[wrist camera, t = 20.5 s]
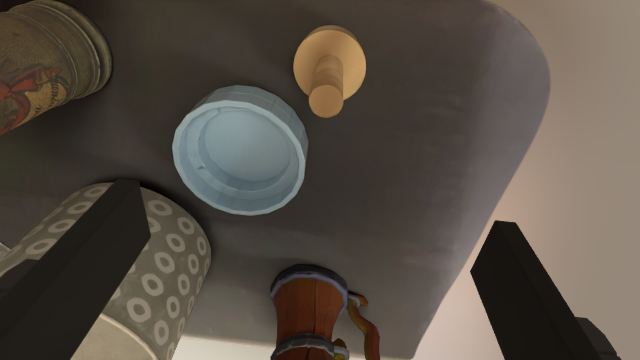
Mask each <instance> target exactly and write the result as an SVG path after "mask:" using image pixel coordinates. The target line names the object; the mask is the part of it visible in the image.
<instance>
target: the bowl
mask: <svg viewBox="0 0 640 360" xmlns="http://www.w3.org/2000/svg"><path fill="white" fill-rule="evenodd" d="M172 150H173V157H174V163H175V167H176V169H177V171H178V173H179V175H180V176H181V178H182V180H183V182H184V183H185V184H186V185H187V187H188V188H189V189H190V190H191V191H192V192H193V193H194V194H195V195H196V196H197V197H198V198H200V199H201V200H203V201H205V202H206V203H208V204H209V205H211V206H212V207H214V208H217V209H220V210H223V211H225V212H228V213H232V214H240V215H249V216H252V215H259V214H266V213H270V212H272V211H274V210H276V209H279V208H281V207H283V206H284V205H286V204H287V203H288V202H289V201H290V200H291V199H292V198H293V197H294V196H295V195H296V194H297V192H298V190H299V188H300V186H301V184H302V182H303V180H304V175H305V169H306V163H307V155H308V139H307V135H306V131H305V128H304V125H303V123H302V122H301V120H300V119H299V117H298V116H297V114H296V113H295V111H294V110H293V109H292V108H291V107H290V106H289V105H287V104H286V103H285V102H284V101H283V100H281V99H280V98H279V97H278V96H276V95H274V94H272V93H270V92H267V91H265V90H263V89H260V88H257V87H250V86H241V85H234V86H229V87H224V88H220V89H216V90H215V91H213V92H212V93H210V94H208V95H207V96H205V97H204V98H202V99H201V100H200V101H199V102H198V103H197V104H196V105H195V106H194V108H193V109H192V110H191V111H190V112H189V113H188V114H187V115H186V116H185V118H184V119H183V121H182V122H181V123H180V125H179V126H178V128H177V129H176V132H175V136H174V141H173V145H172Z"/></svg>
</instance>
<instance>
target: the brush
mask: <svg viewBox="0 0 640 360" xmlns="http://www.w3.org/2000/svg"><path fill="white" fill-rule="evenodd" d="M293 67H294V75H295V79H296V81H297V83H298V85H299V87H300V88H301V89H302V91H303V92H304V93H305V94H307V95H308V96H309V105H310V108H311V110H312V111H313V112H314V113H315V114H316V115H318V116H320V117H325V118H328V117H332V116H335V115H336V114H338V113H339V112H340V110H341V109H342V106H343V100H345V99H347V98H349V97H350V96H352V95H353V94H354V93H355V92H356V91H357V90H358V88H359V87H360V86H361V84H362V82H363V79H364V76H365V72H366V61H365V56H364V52H363V50H362V47H361V45H360V44H359V42H358V41H357V39H356V37H355V36H354V35H353V34H352V33H351V32H350V31H348V30H347V29H345V28H343V27H340V26H337V25H325V26H321V27H318V28H316V29H315V30H313V31H312V32H311V33H310V34H309V35H308V36H307V37H306V38H305V39H304V40H303V41H302V42H301V44H300V45H299V47H298V49H297V52H296V54H295V58H294V64H293Z"/></svg>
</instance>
